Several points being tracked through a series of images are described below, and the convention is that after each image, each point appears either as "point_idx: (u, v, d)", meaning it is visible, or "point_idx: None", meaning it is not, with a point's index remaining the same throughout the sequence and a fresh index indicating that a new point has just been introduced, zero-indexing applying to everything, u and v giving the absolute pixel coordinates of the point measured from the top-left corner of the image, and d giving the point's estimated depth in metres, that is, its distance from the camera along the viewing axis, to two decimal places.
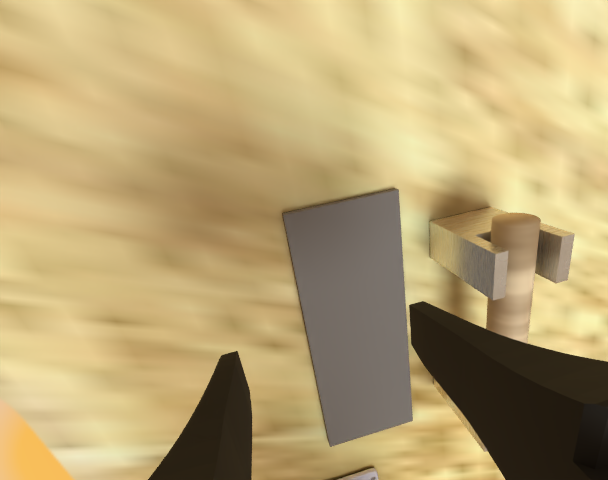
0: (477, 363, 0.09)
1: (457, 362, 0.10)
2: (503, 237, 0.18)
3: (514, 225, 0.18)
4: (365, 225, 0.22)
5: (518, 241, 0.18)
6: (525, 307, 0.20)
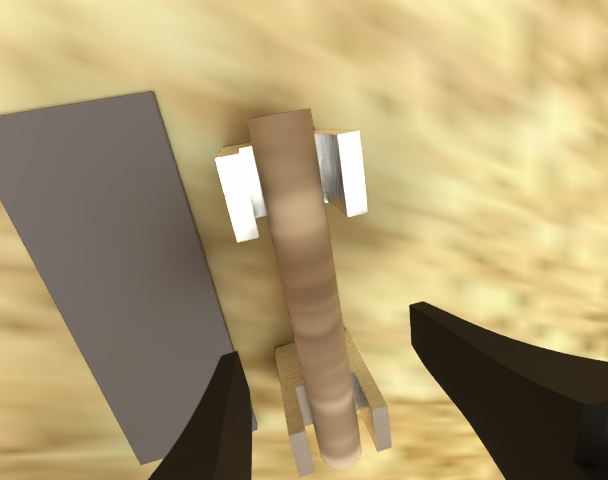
0: (477, 363, 0.09)
1: (457, 362, 0.10)
2: (253, 140, 0.11)
3: (261, 117, 0.11)
4: (109, 146, 0.15)
5: (269, 143, 0.11)
6: (310, 258, 0.13)
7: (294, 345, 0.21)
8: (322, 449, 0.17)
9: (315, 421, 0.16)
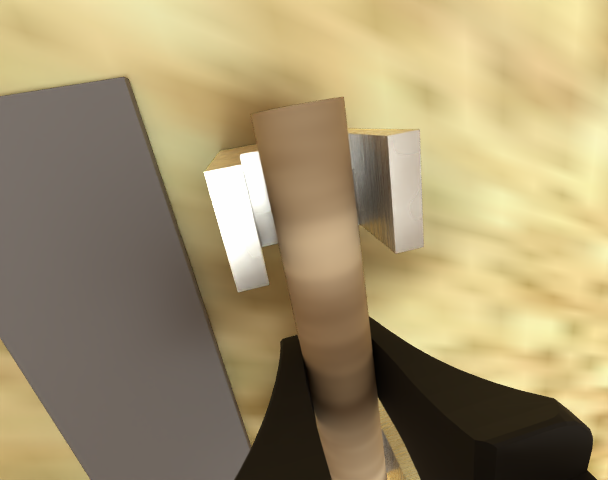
0: (403, 385, 0.09)
1: (390, 382, 0.10)
2: (261, 144, 0.08)
3: (273, 109, 0.07)
4: (68, 150, 0.11)
5: (285, 149, 0.07)
6: (339, 309, 0.09)
7: None
8: None
9: None
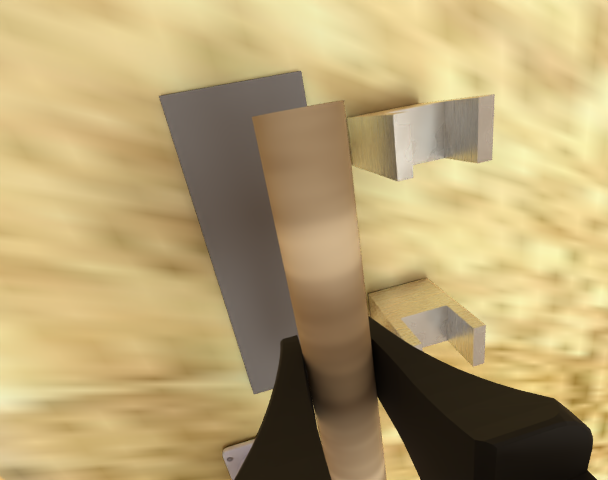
0: (403, 385, 0.09)
1: (390, 382, 0.10)
2: (261, 146, 0.08)
3: None
4: None
5: (284, 152, 0.08)
6: (337, 309, 0.09)
7: (385, 291, 0.25)
8: None
9: None
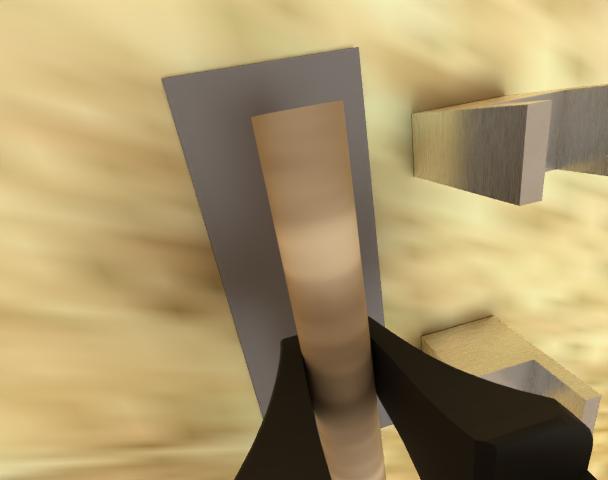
0: (403, 385, 0.09)
1: (390, 382, 0.10)
2: (260, 146, 0.08)
3: None
4: None
5: (283, 151, 0.08)
6: (336, 309, 0.09)
7: (444, 334, 0.20)
8: None
9: None
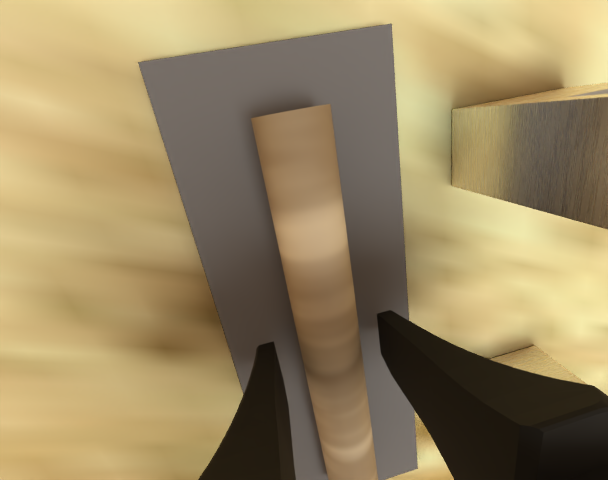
0: (433, 376, 0.09)
1: (417, 374, 0.10)
2: (260, 143, 0.09)
3: (270, 114, 0.09)
4: (323, 103, 0.11)
5: (279, 148, 0.09)
6: (327, 286, 0.10)
7: None
8: None
9: (328, 465, 0.14)
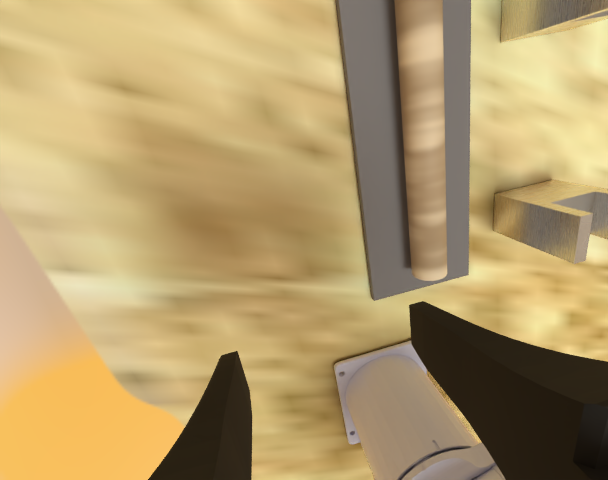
0: (477, 363, 0.09)
1: (457, 362, 0.10)
2: None
3: None
4: None
5: None
6: (432, 80, 0.17)
7: (513, 191, 0.24)
8: (418, 264, 0.22)
9: (415, 237, 0.21)
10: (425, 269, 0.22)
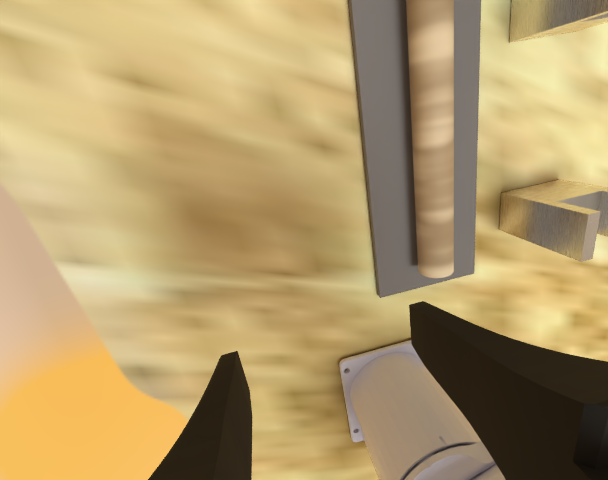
0: (477, 363, 0.09)
1: (457, 362, 0.10)
2: None
3: None
4: None
5: None
6: (442, 78, 0.18)
7: (520, 190, 0.24)
8: (425, 261, 0.22)
9: (423, 234, 0.22)
10: (432, 266, 0.22)
